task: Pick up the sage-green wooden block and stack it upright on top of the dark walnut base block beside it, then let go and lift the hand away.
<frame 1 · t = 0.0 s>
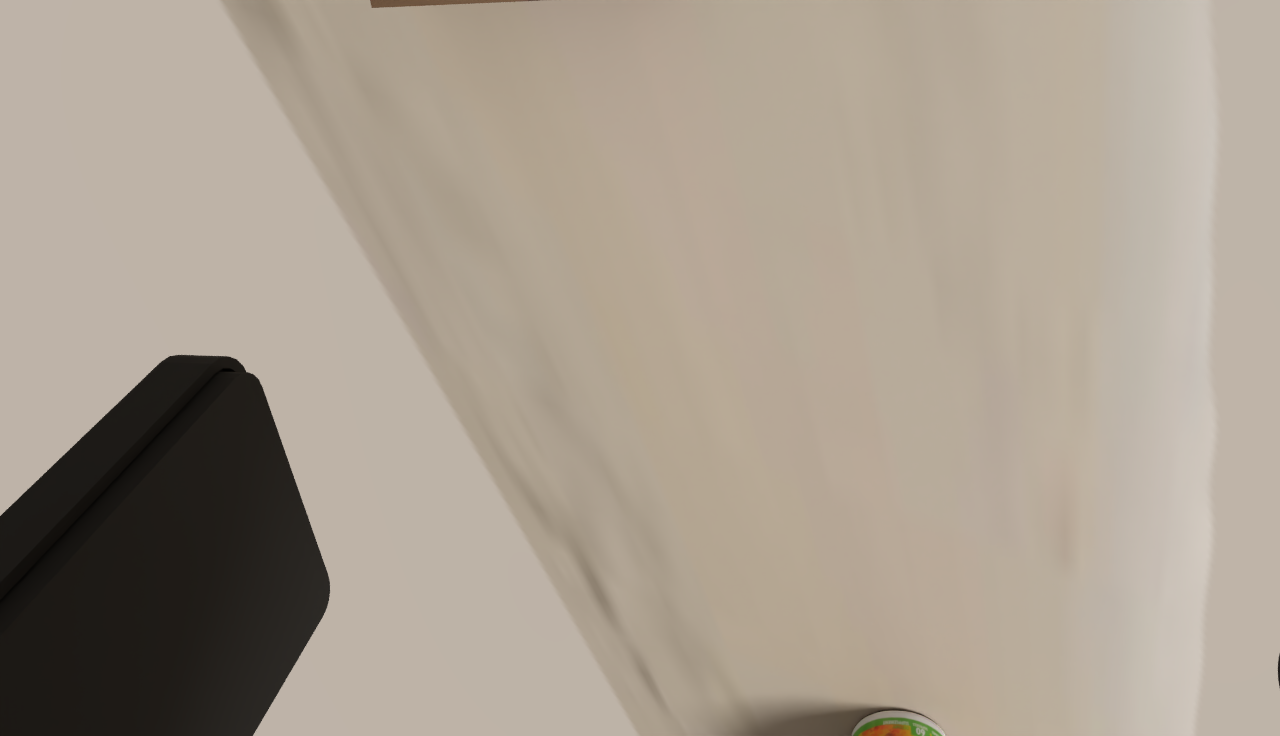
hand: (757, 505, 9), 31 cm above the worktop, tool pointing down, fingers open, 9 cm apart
supplement bottle: (899, 735, 58), on the worktop
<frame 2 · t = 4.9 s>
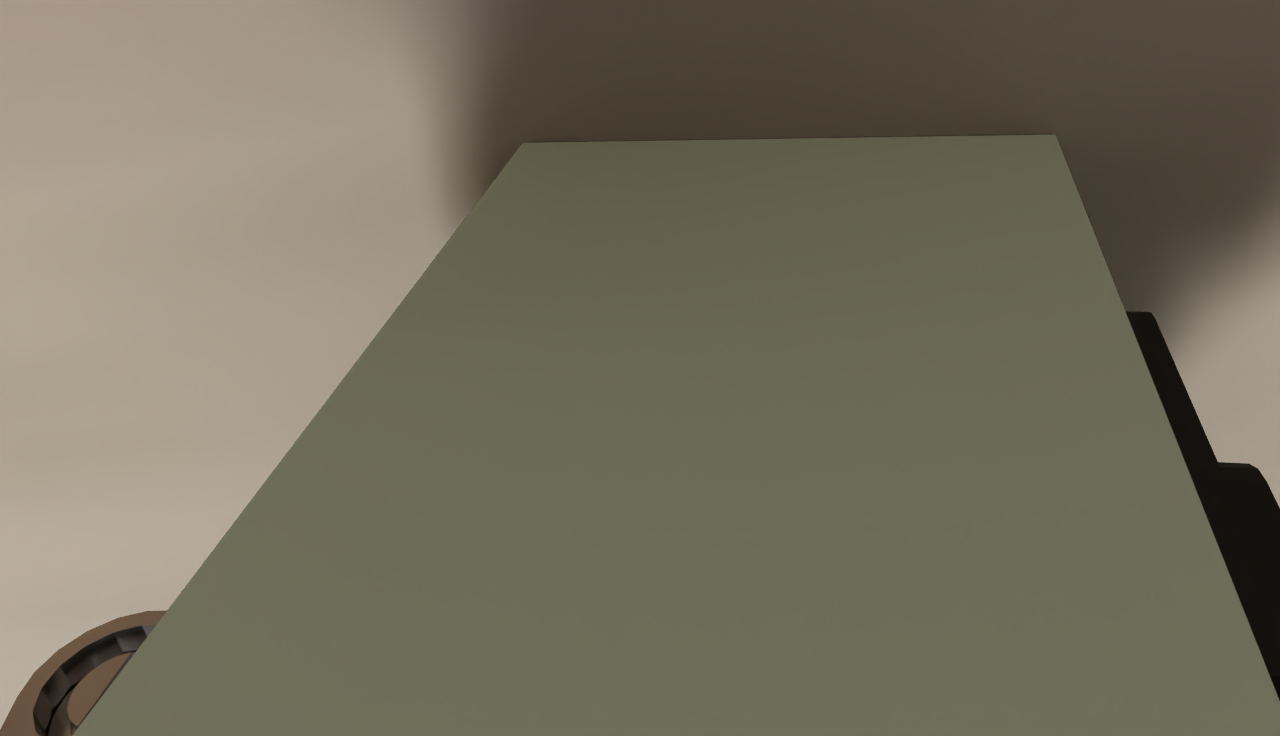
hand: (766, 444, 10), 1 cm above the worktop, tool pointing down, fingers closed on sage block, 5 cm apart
sage block: (778, 360, 11), on the worktop, touching gripper
when the fingers open (7 cm above the worktop, at t = 10.5 s): sage block drops 1 cm, resting on walnut base.
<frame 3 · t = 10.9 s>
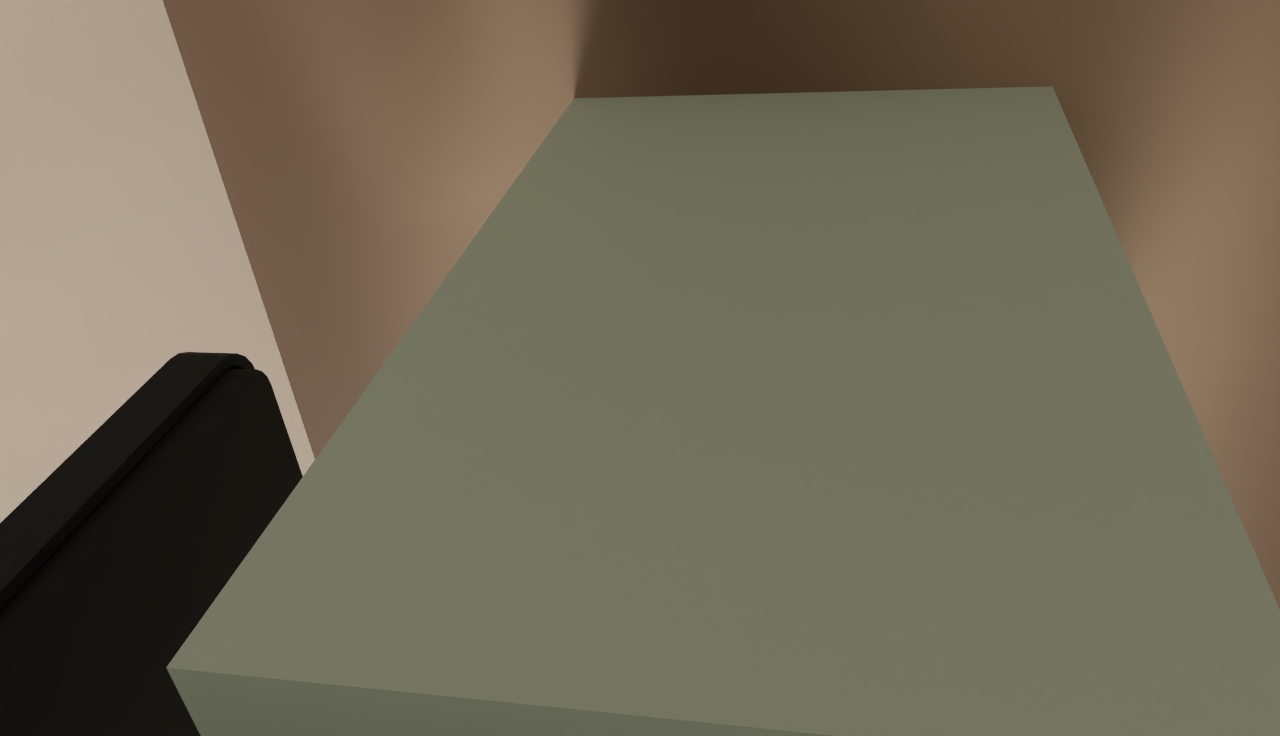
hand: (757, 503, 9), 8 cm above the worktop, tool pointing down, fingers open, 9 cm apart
sage block: (802, 298, 12), point 4 cm above the worktop, touching walnut base
walnut base: (805, 165, 15), on the worktop
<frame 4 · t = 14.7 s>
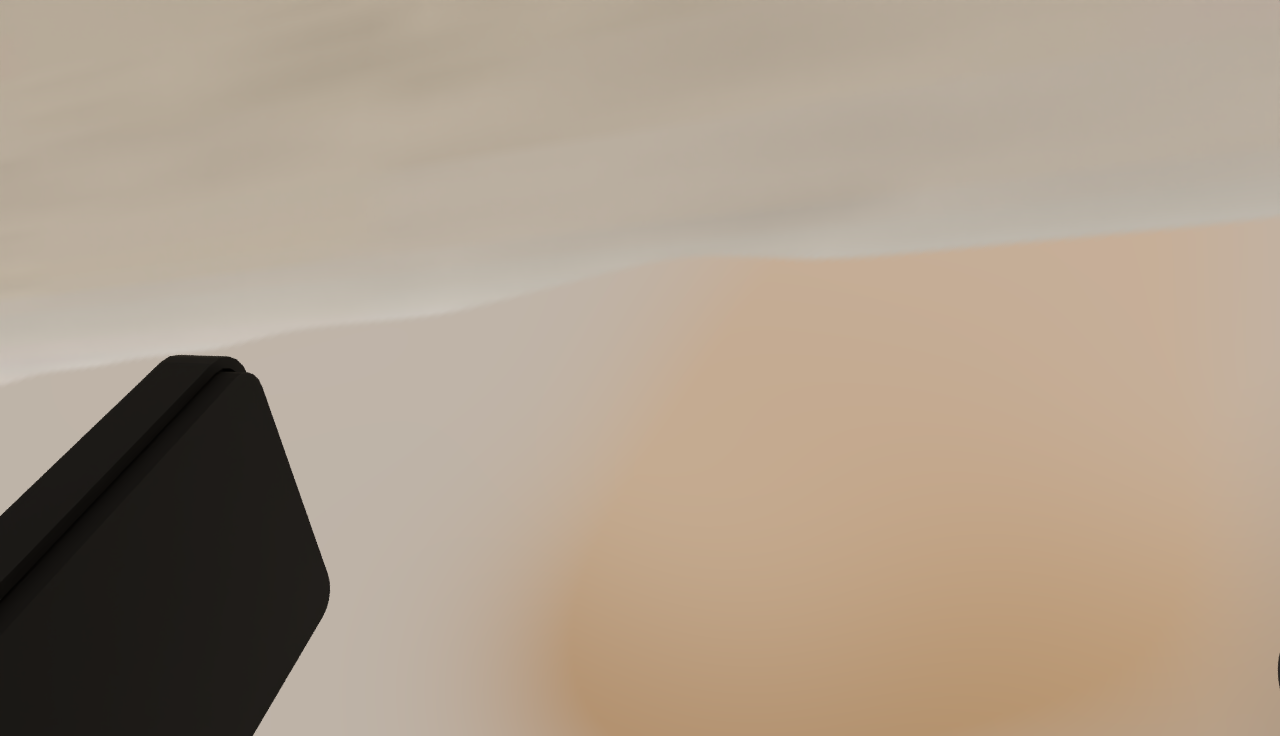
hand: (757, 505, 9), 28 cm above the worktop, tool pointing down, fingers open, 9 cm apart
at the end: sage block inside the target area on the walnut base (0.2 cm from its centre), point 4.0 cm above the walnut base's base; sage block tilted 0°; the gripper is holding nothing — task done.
